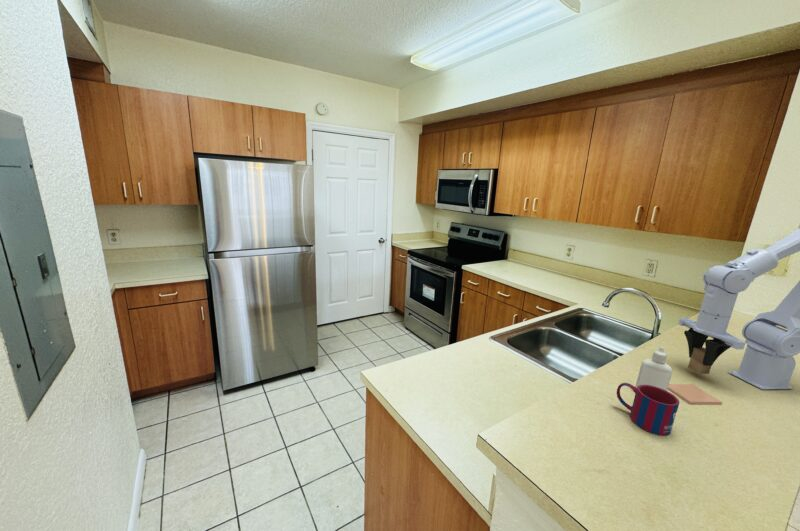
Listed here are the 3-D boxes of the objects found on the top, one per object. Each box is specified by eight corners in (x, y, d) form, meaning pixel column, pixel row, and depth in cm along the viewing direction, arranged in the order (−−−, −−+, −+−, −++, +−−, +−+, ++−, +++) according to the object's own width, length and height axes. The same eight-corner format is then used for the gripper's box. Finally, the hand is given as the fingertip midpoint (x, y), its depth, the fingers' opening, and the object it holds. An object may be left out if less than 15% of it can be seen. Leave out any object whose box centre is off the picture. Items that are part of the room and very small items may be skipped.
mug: (661, 440, 61) (670, 409, 60) (607, 409, 70) (613, 381, 68) (676, 429, 65) (685, 399, 63) (622, 400, 73) (629, 373, 72)
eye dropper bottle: (657, 402, 73) (671, 354, 70) (631, 388, 78) (643, 343, 75) (667, 398, 75) (681, 351, 72) (641, 385, 80) (653, 340, 77)
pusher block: (697, 367, 87) (703, 347, 86) (708, 373, 85) (715, 353, 83) (687, 367, 87) (693, 347, 86) (699, 374, 84) (705, 353, 83)
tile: (692, 384, 81) (663, 383, 80) (722, 402, 74) (690, 401, 73) (691, 388, 81) (662, 388, 80) (720, 406, 74) (689, 406, 73)
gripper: (674, 302, 88) (661, 347, 92) (733, 324, 74) (716, 377, 78) (696, 303, 89) (683, 347, 93) (759, 324, 75) (741, 376, 79)
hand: (700, 361), depth 85 cm, fingers closed on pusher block, 3 cm apart
